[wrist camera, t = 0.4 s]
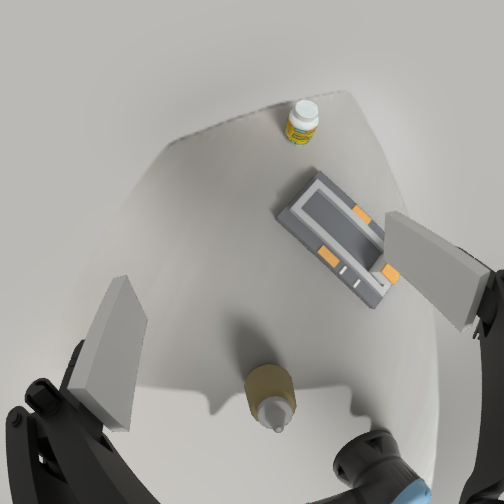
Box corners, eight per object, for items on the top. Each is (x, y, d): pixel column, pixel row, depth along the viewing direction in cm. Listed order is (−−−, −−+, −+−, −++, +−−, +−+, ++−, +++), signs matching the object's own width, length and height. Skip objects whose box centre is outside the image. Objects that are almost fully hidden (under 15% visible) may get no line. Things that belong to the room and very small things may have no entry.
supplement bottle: (308, 124, 50) (319, 97, 40) (313, 146, 49) (326, 121, 40) (282, 124, 49) (288, 96, 40) (286, 147, 49) (294, 121, 39)
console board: (404, 260, 47) (413, 258, 44) (369, 308, 46) (378, 309, 43) (316, 174, 49) (321, 167, 45) (275, 219, 47) (277, 214, 44)
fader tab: (392, 265, 45) (407, 264, 40) (379, 284, 45) (393, 284, 39) (381, 254, 45) (396, 251, 40) (367, 272, 45) (381, 271, 39)
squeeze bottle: (244, 357, 45) (244, 401, 27) (290, 357, 45) (314, 398, 27) (244, 398, 44) (243, 453, 26) (288, 397, 44) (308, 450, 26)
